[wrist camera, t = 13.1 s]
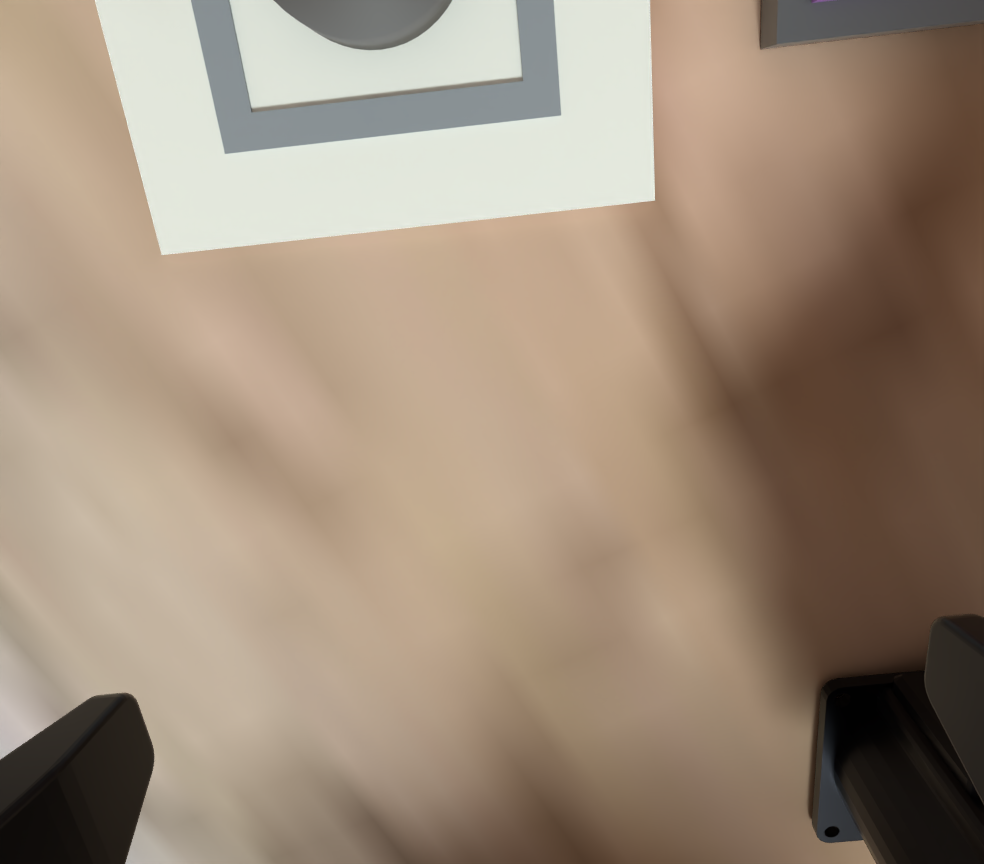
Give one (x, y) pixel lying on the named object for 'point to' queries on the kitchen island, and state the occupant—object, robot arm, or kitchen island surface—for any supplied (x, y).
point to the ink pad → (859, 18)
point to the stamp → (367, 20)
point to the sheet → (379, 117)
